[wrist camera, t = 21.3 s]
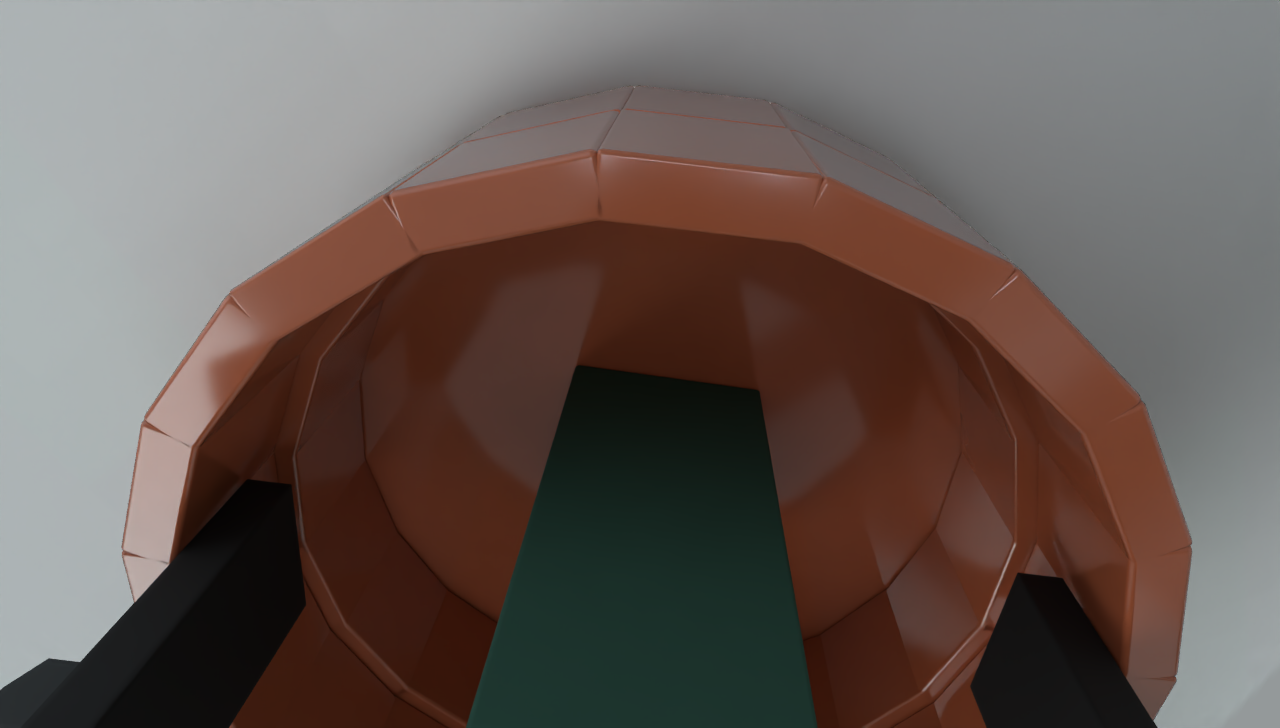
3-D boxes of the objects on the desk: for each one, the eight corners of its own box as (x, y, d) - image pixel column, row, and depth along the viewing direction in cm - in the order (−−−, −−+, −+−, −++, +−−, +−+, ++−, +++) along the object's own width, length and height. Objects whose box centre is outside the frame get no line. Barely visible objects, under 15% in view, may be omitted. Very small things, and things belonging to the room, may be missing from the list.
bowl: (1111, 134, 14) (1437, 245, 8) (901, 703, 21) (989, 1000, 15) (294, 39, 14) (-5, 79, 8) (350, 636, 21) (210, 904, 15)
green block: (760, 389, 16) (829, 779, 8) (727, 535, 18) (758, 973, 10) (575, 363, 16) (463, 728, 8) (560, 512, 18) (457, 933, 10)
